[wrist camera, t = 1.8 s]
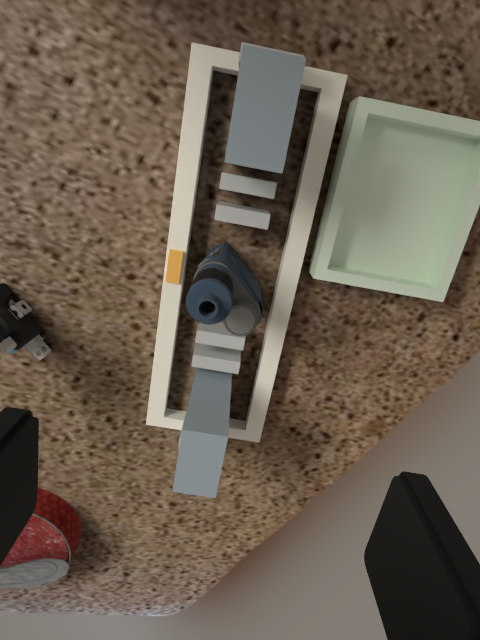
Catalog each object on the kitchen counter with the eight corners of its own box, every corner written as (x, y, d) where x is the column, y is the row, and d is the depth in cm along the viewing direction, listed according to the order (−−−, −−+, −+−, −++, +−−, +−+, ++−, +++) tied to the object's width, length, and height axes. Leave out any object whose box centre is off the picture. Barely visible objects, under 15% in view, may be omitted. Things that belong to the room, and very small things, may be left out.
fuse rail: (194, 48, 26) (166, -18, 17) (342, 79, 27) (395, 31, 17) (149, 415, 36) (115, 502, 26) (258, 432, 36) (263, 524, 27)
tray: (349, 102, 27) (359, 96, 25) (486, 130, 28) (509, 127, 25) (308, 270, 31) (313, 278, 29) (428, 292, 32) (443, 302, 29)
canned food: (88, 469, 44) (106, 547, 36) (59, 541, 46) (70, 630, 38) (-35, 467, 38) (-46, 562, 30) (-62, 550, 40) (-79, 660, 32)
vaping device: (223, 234, 30) (211, 272, 19) (265, 288, 32) (277, 354, 20) (197, 254, 31) (170, 304, 20) (239, 307, 32) (236, 381, 21)
